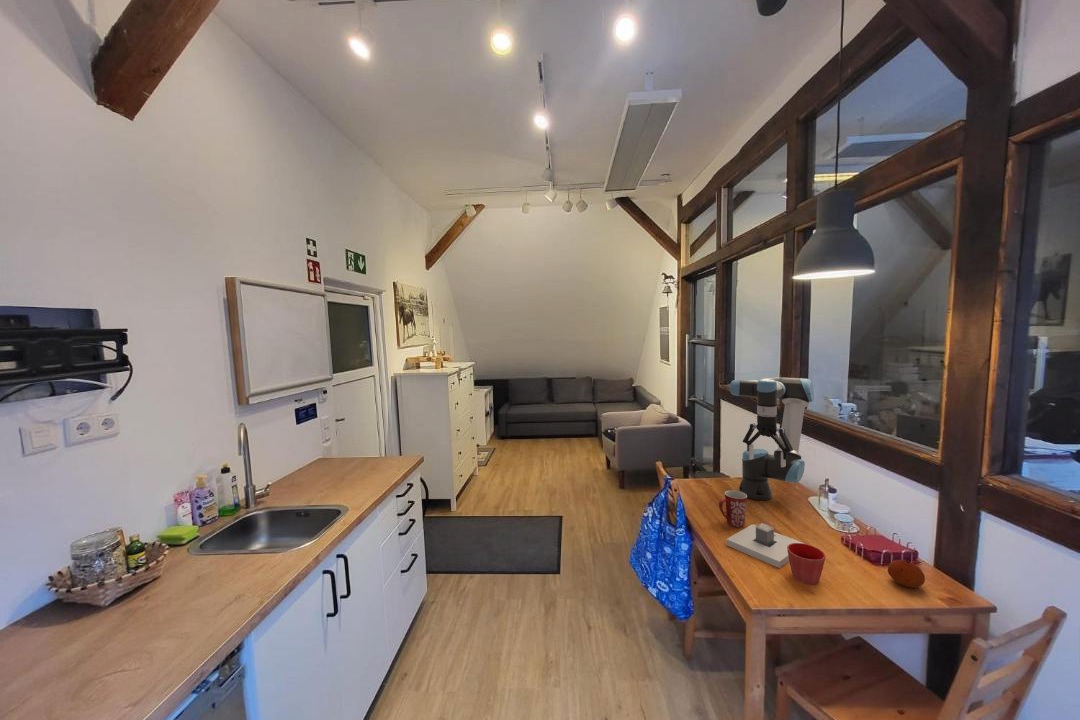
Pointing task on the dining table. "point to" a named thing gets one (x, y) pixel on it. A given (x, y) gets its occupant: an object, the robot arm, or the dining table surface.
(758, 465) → the robot arm
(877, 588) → the dining table surface
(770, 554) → the socket plate
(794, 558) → the flower pot
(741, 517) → the mug
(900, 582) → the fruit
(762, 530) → the plug
